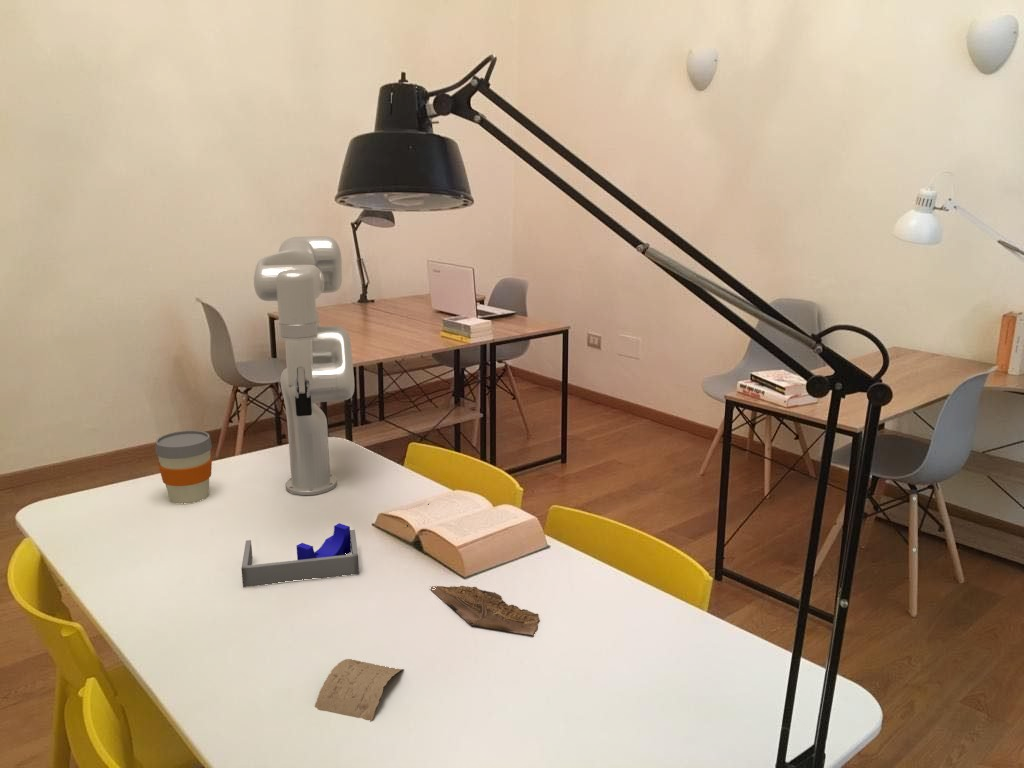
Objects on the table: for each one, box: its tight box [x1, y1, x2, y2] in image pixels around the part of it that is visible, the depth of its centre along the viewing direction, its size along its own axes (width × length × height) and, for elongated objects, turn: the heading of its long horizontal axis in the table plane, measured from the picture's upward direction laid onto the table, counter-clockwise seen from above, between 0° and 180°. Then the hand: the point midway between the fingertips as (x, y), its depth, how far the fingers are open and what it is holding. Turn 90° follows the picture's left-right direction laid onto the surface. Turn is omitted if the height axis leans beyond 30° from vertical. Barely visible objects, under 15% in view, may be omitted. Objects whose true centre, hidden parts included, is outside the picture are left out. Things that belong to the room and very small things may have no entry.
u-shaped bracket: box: [240, 529, 360, 588], centre depth 160 cm, size 12×22×4 cm, turn 104°
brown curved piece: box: [314, 658, 404, 722], centre depth 123 cm, size 14×10×3 cm
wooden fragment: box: [430, 585, 540, 637], centre depth 145 cm, size 26×11×1 cm, turn 48°
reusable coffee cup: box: [155, 430, 213, 505], centre depth 191 cm, size 13×13×15 cm
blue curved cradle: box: [296, 523, 352, 560], centre depth 162 cm, size 12×4×6 cm, turn 148°
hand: (304, 414), depth 168 cm, fingers closed
